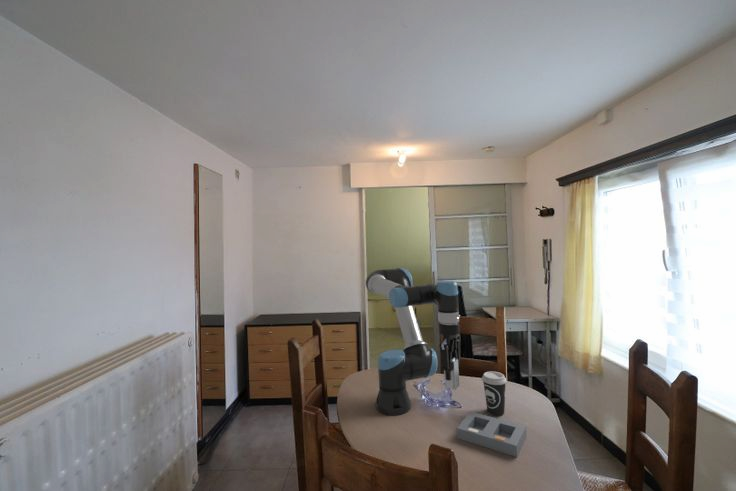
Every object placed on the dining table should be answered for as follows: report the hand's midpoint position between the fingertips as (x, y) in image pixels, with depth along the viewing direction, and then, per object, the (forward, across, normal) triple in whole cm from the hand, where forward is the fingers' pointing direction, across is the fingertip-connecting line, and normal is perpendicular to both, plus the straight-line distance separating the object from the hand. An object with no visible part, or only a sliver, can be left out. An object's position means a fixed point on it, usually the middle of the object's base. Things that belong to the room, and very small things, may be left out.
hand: (452, 385), depth 123 cm
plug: (0, 0, 0) cm, 0 cm away
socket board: (+17, +3, -13) cm, 21 cm away
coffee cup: (+17, +22, -8) cm, 29 cm away
